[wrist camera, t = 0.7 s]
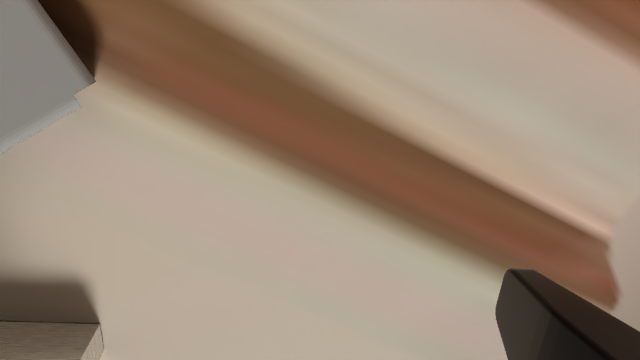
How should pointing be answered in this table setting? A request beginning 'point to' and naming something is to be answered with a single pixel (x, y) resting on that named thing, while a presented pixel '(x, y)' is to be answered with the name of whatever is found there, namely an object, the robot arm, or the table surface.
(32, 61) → the bracket
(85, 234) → the table surface
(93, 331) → the guide channel
